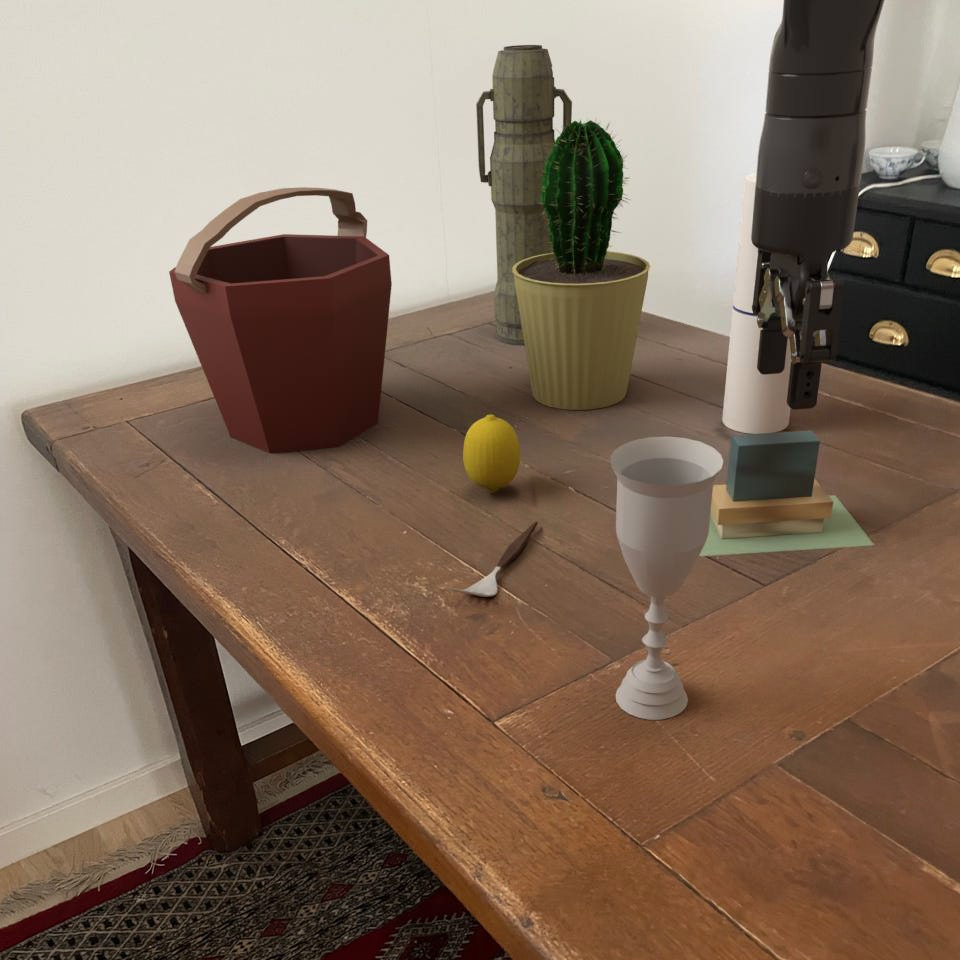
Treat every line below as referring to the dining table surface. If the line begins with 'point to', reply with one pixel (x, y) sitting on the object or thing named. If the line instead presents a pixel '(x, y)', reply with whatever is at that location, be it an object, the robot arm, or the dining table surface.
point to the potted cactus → (581, 279)
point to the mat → (793, 537)
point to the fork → (499, 567)
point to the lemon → (491, 453)
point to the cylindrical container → (751, 346)
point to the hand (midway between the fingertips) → (784, 389)
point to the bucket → (289, 325)
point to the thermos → (518, 167)
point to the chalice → (661, 549)
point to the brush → (771, 487)
